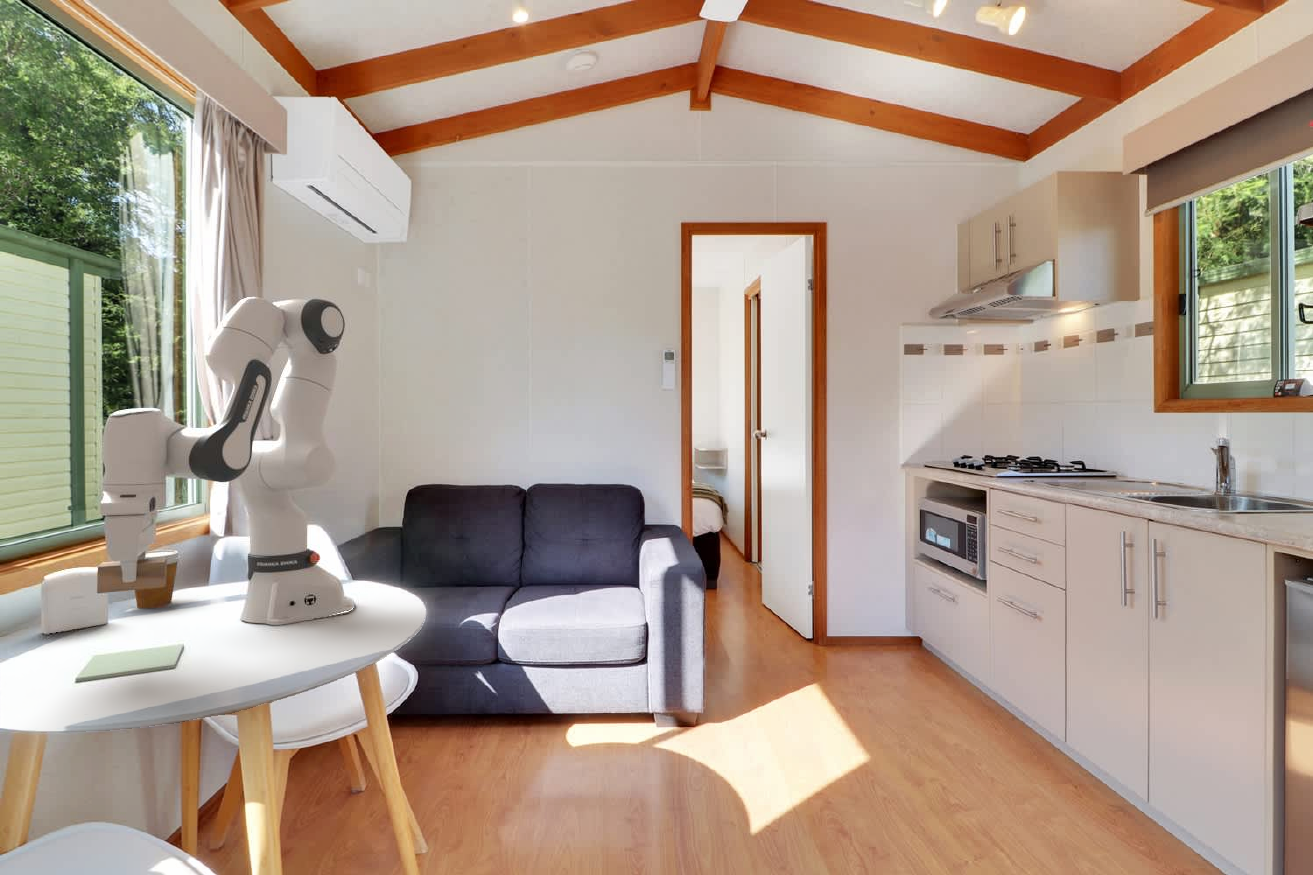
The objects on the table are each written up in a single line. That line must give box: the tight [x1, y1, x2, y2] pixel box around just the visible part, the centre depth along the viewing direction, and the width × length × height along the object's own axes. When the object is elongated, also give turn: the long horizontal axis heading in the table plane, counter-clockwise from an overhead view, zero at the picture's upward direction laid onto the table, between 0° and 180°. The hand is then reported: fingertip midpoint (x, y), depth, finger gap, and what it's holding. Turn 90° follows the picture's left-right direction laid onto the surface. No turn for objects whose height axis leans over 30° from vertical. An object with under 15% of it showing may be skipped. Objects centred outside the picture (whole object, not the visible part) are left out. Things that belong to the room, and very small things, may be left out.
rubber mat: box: [75, 643, 185, 683], centre depth 112 cm, size 13×12×1 cm
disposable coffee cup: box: [134, 549, 181, 609], centre depth 148 cm, size 10×10×12 cm
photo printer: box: [40, 566, 109, 635], centre depth 130 cm, size 10×4×12 cm, turn 140°
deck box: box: [97, 558, 167, 593], centre depth 112 cm, size 4×9×4 cm, turn 124°
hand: (133, 577), depth 112 cm, fingers closed on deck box, 5 cm apart
